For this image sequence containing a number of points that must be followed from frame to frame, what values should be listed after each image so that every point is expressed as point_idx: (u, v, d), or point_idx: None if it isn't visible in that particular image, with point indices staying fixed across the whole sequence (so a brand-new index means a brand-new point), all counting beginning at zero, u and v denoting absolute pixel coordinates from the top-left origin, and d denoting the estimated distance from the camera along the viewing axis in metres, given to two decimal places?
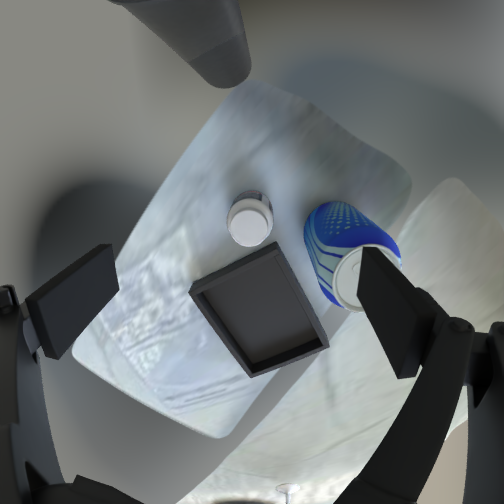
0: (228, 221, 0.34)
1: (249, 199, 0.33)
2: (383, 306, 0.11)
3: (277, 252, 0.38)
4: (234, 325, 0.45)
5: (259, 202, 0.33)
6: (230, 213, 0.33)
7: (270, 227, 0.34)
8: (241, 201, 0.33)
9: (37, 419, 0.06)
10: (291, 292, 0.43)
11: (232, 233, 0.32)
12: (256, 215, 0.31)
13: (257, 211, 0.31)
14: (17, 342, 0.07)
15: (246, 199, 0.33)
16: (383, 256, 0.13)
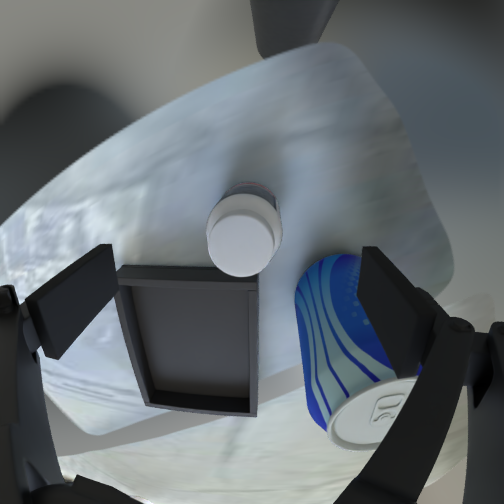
0: (212, 216, 0.20)
1: (261, 199, 0.20)
2: (383, 306, 0.11)
3: (255, 287, 0.25)
4: (151, 340, 0.31)
5: (274, 212, 0.20)
6: (222, 206, 0.20)
7: None
8: (248, 196, 0.20)
9: (37, 419, 0.06)
10: (243, 338, 0.30)
11: (211, 240, 0.18)
12: (264, 232, 0.18)
13: (268, 227, 0.18)
14: (17, 342, 0.07)
15: (257, 197, 0.20)
16: (383, 256, 0.13)
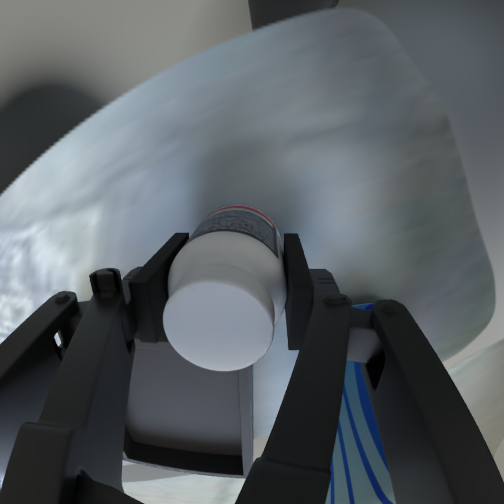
0: (175, 268, 0.12)
1: (254, 243, 0.12)
2: None
3: None
4: None
5: (274, 263, 0.12)
6: (189, 253, 0.12)
7: None
8: (231, 238, 0.12)
9: (112, 418, 0.06)
10: (233, 399, 0.23)
11: (167, 319, 0.10)
12: (258, 310, 0.10)
13: (264, 299, 0.10)
14: (110, 333, 0.08)
15: (246, 238, 0.12)
16: (297, 241, 0.15)
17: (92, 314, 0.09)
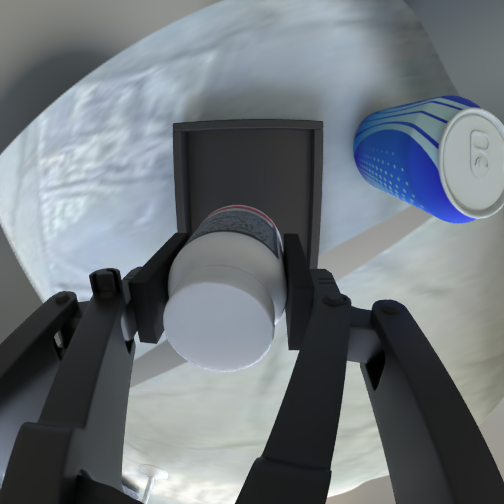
0: (175, 269, 0.12)
1: (254, 243, 0.12)
2: None
3: (321, 126, 0.25)
4: (201, 208, 0.31)
5: (274, 263, 0.12)
6: (189, 254, 0.12)
7: None
8: (232, 238, 0.12)
9: (112, 418, 0.06)
10: (302, 198, 0.30)
11: (168, 319, 0.10)
12: (258, 310, 0.10)
13: (264, 299, 0.10)
14: (110, 333, 0.08)
15: (246, 239, 0.12)
16: (297, 241, 0.15)
17: (92, 314, 0.09)
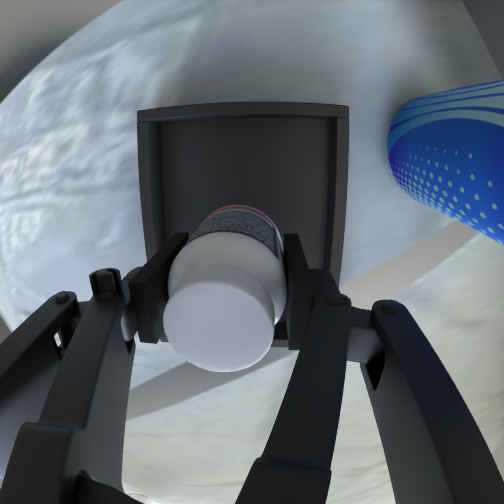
0: (175, 269, 0.12)
1: (254, 243, 0.12)
2: None
3: (346, 113, 0.17)
4: (180, 226, 0.23)
5: (274, 264, 0.12)
6: (189, 254, 0.12)
7: None
8: (232, 238, 0.12)
9: (112, 418, 0.06)
10: (316, 213, 0.22)
11: (167, 320, 0.10)
12: (258, 311, 0.10)
13: (264, 299, 0.10)
14: (110, 333, 0.08)
15: (246, 239, 0.12)
16: (297, 241, 0.15)
17: (92, 314, 0.09)
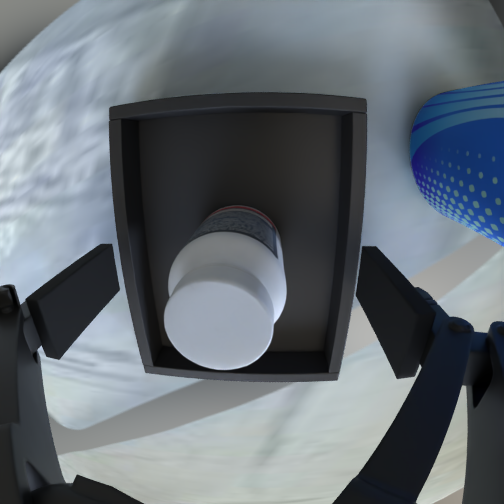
0: (176, 268, 0.12)
1: (253, 243, 0.12)
2: (382, 306, 0.11)
3: (363, 107, 0.13)
4: (163, 244, 0.19)
5: (274, 263, 0.12)
6: (189, 254, 0.12)
7: None
8: (231, 238, 0.12)
9: (37, 419, 0.06)
10: (325, 228, 0.18)
11: (168, 318, 0.10)
12: (257, 309, 0.10)
13: (263, 298, 0.10)
14: (18, 342, 0.07)
15: (246, 239, 0.12)
16: (382, 256, 0.13)
17: None
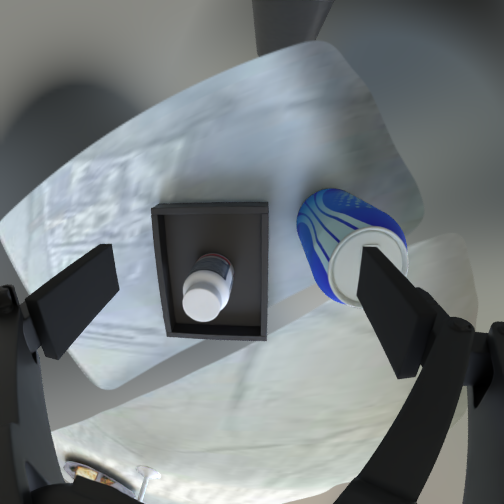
0: (186, 284, 0.32)
1: (215, 274, 0.32)
2: (383, 306, 0.11)
3: (266, 211, 0.34)
4: (177, 270, 0.39)
5: (223, 282, 0.32)
6: (191, 278, 0.32)
7: (221, 307, 0.33)
8: (207, 273, 0.32)
9: (37, 419, 0.06)
10: (255, 263, 0.38)
11: (184, 301, 0.30)
12: (214, 298, 0.30)
13: (216, 294, 0.30)
14: (17, 342, 0.07)
15: (212, 273, 0.32)
16: (383, 256, 0.13)
17: None
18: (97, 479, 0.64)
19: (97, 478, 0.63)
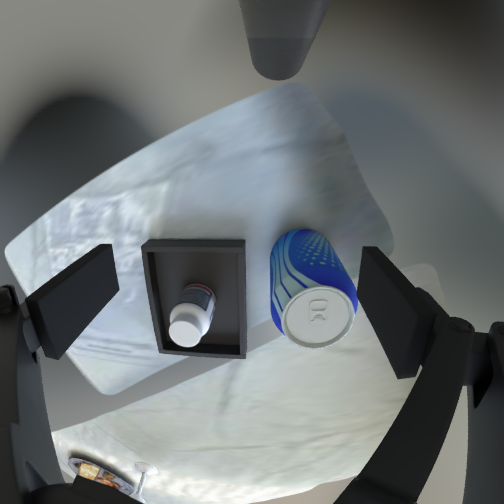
0: (172, 314, 0.37)
1: (196, 307, 0.37)
2: (383, 306, 0.11)
3: (242, 250, 0.38)
4: (167, 297, 0.44)
5: (203, 313, 0.37)
6: (176, 310, 0.37)
7: (203, 334, 0.38)
8: (189, 305, 0.37)
9: (37, 419, 0.06)
10: (234, 292, 0.43)
11: (170, 331, 0.35)
12: (195, 329, 0.35)
13: (197, 326, 0.35)
14: (17, 342, 0.07)
15: (194, 305, 0.37)
16: (383, 256, 0.13)
17: None
18: (99, 474, 0.70)
19: (99, 473, 0.69)
